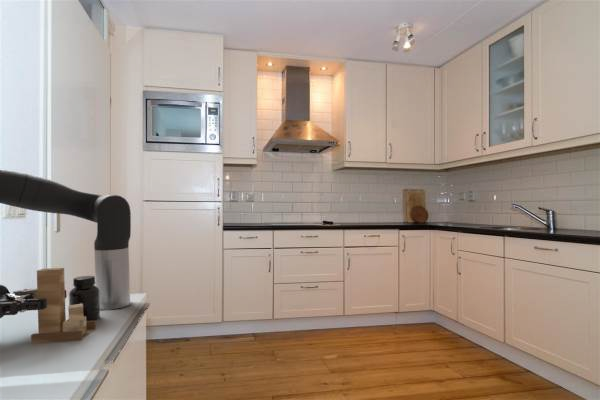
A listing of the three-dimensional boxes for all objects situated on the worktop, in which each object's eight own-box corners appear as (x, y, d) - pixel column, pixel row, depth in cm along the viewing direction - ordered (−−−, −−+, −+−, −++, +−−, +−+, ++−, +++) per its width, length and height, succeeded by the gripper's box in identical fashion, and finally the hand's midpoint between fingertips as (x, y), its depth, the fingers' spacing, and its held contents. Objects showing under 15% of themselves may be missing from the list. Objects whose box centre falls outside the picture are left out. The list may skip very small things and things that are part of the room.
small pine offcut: (68, 318, 87) (68, 305, 87) (82, 316, 89) (82, 303, 89) (68, 322, 84) (68, 308, 84) (83, 319, 86) (83, 306, 86)
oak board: (44, 335, 87) (42, 268, 87) (66, 333, 88) (64, 267, 88) (38, 338, 84) (36, 270, 85) (60, 337, 85) (58, 269, 85)
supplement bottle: (65, 330, 94) (64, 281, 94) (74, 321, 101) (72, 276, 101) (96, 326, 96) (95, 278, 96) (103, 318, 102) (101, 273, 102)
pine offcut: (71, 332, 88) (71, 317, 88) (86, 331, 88) (86, 316, 88) (63, 338, 84) (62, 322, 84) (78, 337, 84) (78, 321, 84)
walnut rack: (51, 336, 90) (50, 323, 90) (96, 333, 91) (95, 320, 91) (31, 349, 82) (30, 335, 82) (81, 345, 83) (80, 331, 83)
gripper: (-49, 293, 77) (38, 289, 79) (-2, 279, 91) (71, 276, 93) (-48, 331, 77) (39, 325, 79) (-1, 311, 91) (72, 306, 93)
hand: (56, 298), depth 86 cm, fingers open, 8 cm apart
